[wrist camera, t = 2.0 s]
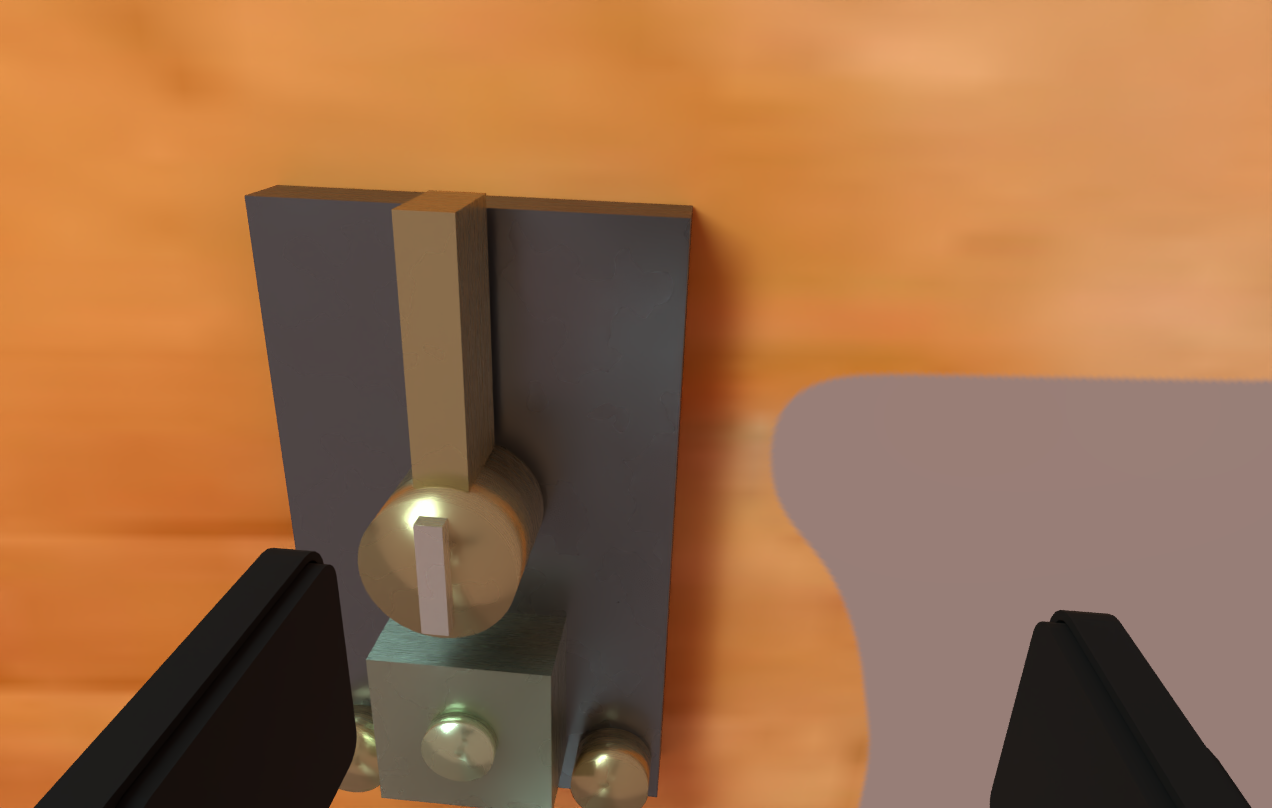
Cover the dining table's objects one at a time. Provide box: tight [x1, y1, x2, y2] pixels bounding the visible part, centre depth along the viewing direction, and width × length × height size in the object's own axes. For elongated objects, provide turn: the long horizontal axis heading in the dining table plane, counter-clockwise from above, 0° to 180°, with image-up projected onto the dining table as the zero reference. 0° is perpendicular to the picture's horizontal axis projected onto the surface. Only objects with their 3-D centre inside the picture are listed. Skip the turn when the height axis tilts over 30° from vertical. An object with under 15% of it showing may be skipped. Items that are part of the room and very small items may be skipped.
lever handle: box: [358, 190, 544, 638], centre depth 24 cm, size 12×5×4 cm, turn 178°
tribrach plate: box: [245, 185, 693, 808], centre depth 28 cm, size 22×13×6 cm, turn 178°
